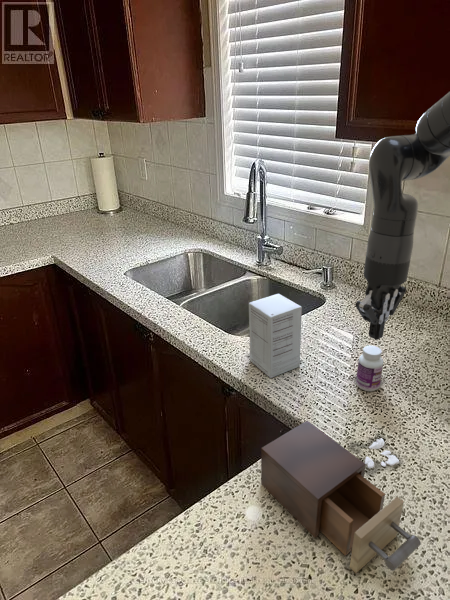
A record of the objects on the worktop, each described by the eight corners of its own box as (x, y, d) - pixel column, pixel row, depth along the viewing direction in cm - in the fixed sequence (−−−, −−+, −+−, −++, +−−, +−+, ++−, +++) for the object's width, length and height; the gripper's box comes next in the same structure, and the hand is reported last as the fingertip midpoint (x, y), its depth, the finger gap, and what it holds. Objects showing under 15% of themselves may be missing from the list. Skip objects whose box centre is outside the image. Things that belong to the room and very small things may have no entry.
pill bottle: (375, 395, 100) (381, 359, 96) (352, 387, 103) (356, 352, 99) (382, 382, 104) (387, 347, 100) (360, 375, 107) (364, 341, 103)
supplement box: (301, 366, 111) (303, 306, 103) (270, 379, 107) (271, 317, 99) (277, 349, 118) (278, 292, 111) (248, 360, 114) (247, 301, 107)
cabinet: (359, 506, 75) (365, 463, 70) (314, 543, 69) (318, 499, 65) (304, 460, 84) (307, 420, 80) (260, 489, 79) (261, 447, 74)
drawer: (422, 558, 65) (431, 522, 62) (381, 600, 61) (389, 563, 57) (338, 487, 77) (342, 454, 74) (298, 518, 72) (300, 483, 69)
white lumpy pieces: (380, 442, 88) (381, 434, 87) (403, 467, 82) (405, 460, 81) (347, 451, 86) (348, 444, 85) (368, 478, 80) (369, 471, 79)
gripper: (384, 270, 73) (370, 358, 81) (428, 251, 80) (412, 333, 88) (347, 257, 78) (338, 340, 86) (391, 240, 85) (379, 318, 93)
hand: (375, 337), depth 87 cm, fingers closed
